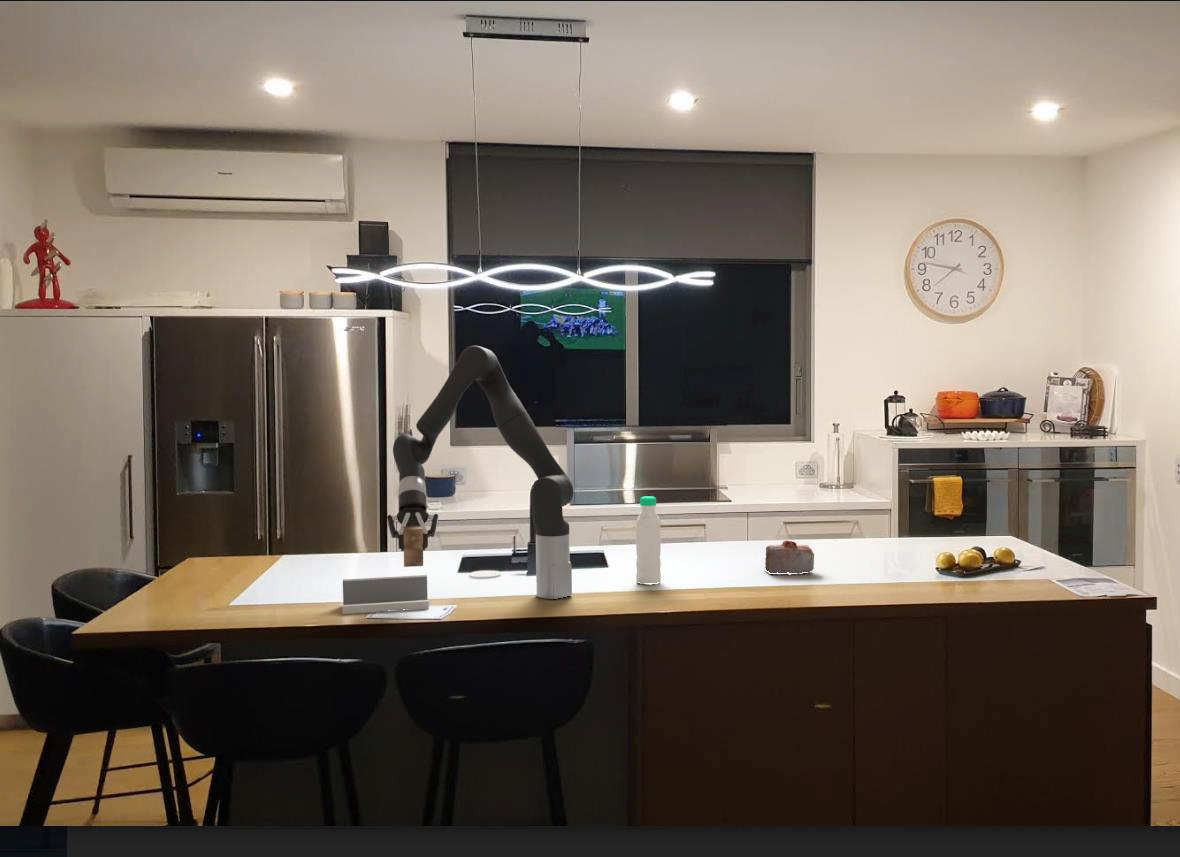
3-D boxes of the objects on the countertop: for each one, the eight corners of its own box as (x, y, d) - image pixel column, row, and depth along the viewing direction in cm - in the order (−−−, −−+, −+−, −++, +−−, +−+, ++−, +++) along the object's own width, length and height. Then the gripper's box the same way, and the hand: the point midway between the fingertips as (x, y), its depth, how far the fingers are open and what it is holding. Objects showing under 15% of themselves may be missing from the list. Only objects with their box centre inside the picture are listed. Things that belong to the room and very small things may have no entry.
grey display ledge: (427, 600, 268) (426, 574, 268) (428, 608, 259) (428, 582, 259) (343, 605, 264) (342, 579, 263) (342, 614, 255) (341, 587, 254)
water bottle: (659, 579, 290) (659, 495, 288) (662, 585, 283) (661, 498, 281) (635, 580, 289) (634, 495, 287) (637, 585, 282) (636, 499, 280)
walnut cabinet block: (422, 562, 265) (422, 525, 264) (423, 566, 260) (422, 529, 259) (403, 563, 264) (403, 526, 263) (403, 567, 259) (403, 529, 258)
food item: (807, 569, 301) (807, 537, 301) (815, 575, 293) (815, 542, 293) (763, 570, 300) (763, 538, 299) (770, 576, 292) (770, 543, 292)
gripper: (385, 489, 267) (385, 542, 256) (439, 487, 270) (441, 540, 259) (385, 505, 273) (385, 557, 262) (438, 504, 275) (440, 555, 265)
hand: (413, 548), depth 260 cm, fingers closed on walnut cabinet block, 5 cm apart
